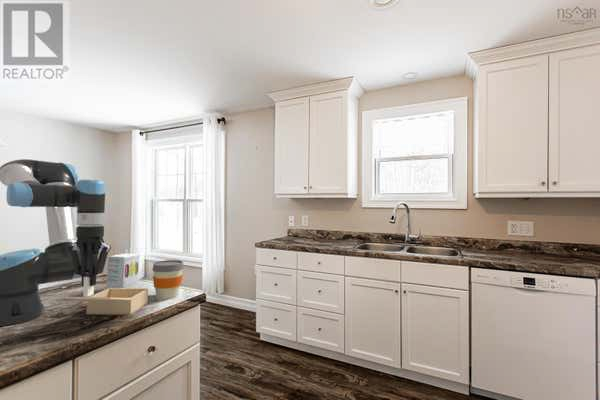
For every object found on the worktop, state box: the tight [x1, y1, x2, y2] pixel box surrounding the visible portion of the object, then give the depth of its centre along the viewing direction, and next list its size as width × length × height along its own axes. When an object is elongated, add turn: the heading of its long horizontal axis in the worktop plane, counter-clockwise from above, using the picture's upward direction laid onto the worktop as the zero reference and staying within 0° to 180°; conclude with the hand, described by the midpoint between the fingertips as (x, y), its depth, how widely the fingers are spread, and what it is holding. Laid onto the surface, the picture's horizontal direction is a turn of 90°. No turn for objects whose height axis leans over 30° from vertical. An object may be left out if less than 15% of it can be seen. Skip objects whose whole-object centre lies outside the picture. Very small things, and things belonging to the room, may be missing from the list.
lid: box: [59, 296, 131, 301], centre depth 95 cm, size 16×12×1 cm
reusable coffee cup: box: [152, 259, 184, 301], centre depth 123 cm, size 13×13×15 cm
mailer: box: [86, 288, 149, 316], centre depth 107 cm, size 16×12×6 cm
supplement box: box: [105, 252, 140, 290], centre depth 129 cm, size 10×9×17 cm
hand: (88, 295), depth 92 cm, fingers closed
